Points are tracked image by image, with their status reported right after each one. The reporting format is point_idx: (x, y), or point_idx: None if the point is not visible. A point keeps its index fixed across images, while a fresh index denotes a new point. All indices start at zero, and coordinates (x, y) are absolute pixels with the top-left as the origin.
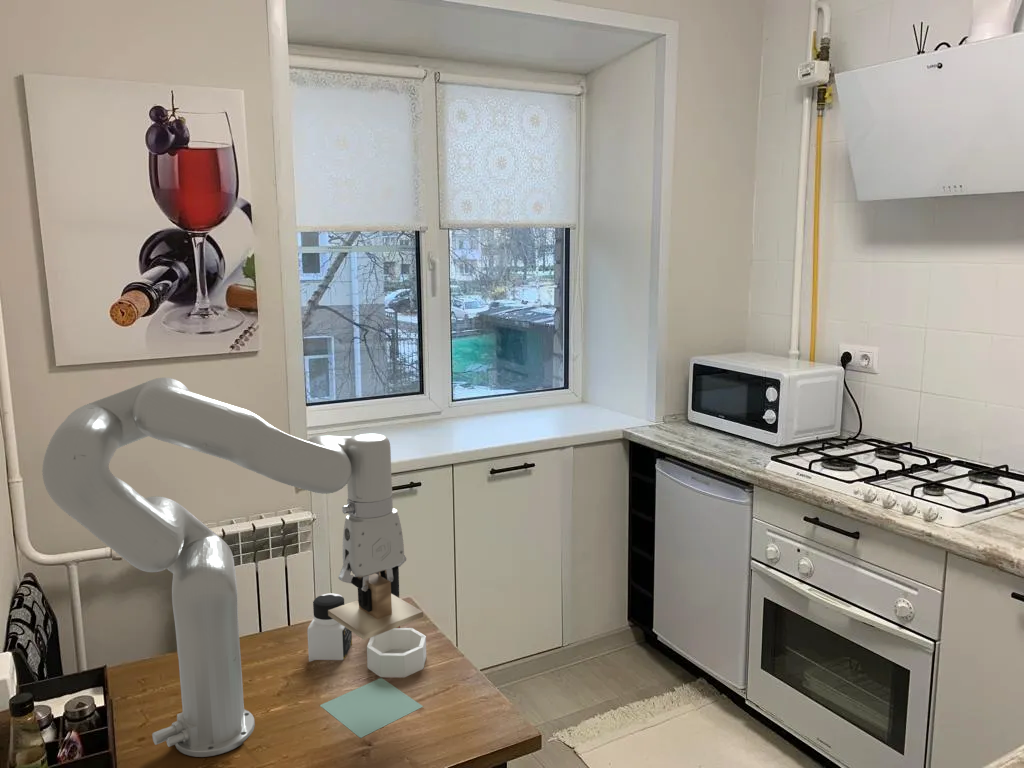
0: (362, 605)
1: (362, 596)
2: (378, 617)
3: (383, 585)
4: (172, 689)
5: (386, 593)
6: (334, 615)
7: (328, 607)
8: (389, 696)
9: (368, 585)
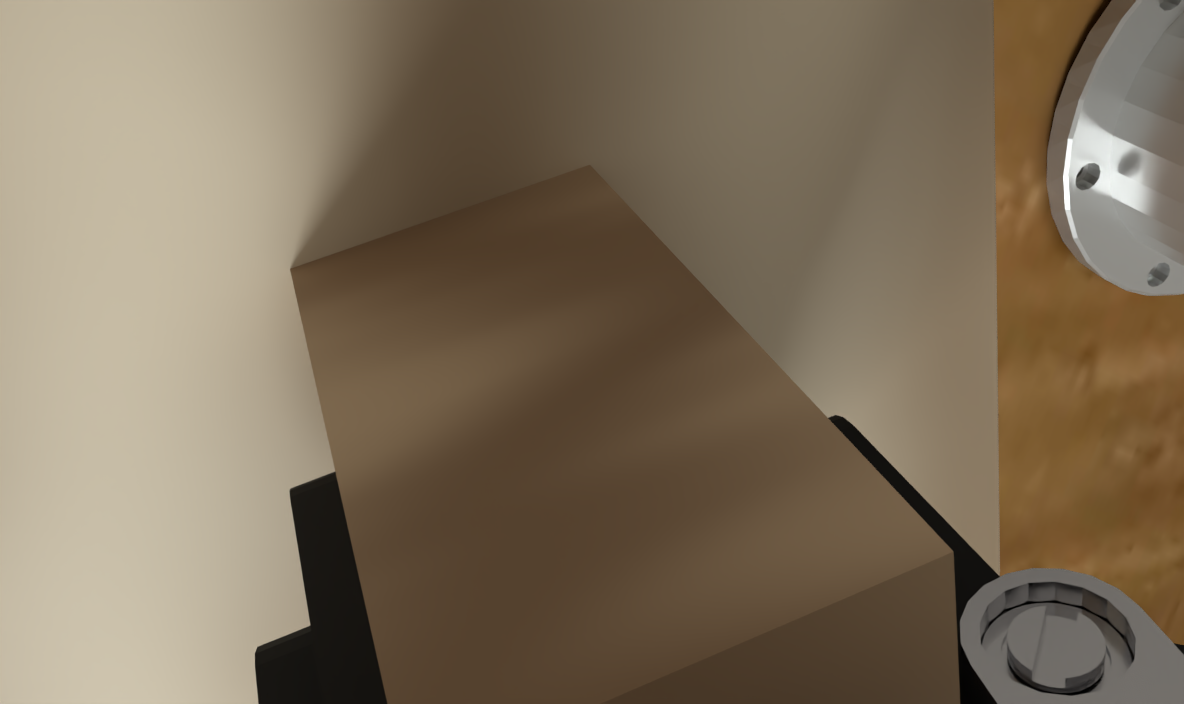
0: (844, 431)
1: (949, 530)
2: (575, 180)
3: (671, 631)
4: (1179, 522)
5: (491, 491)
6: (992, 495)
7: None
8: None
9: (1000, 700)
